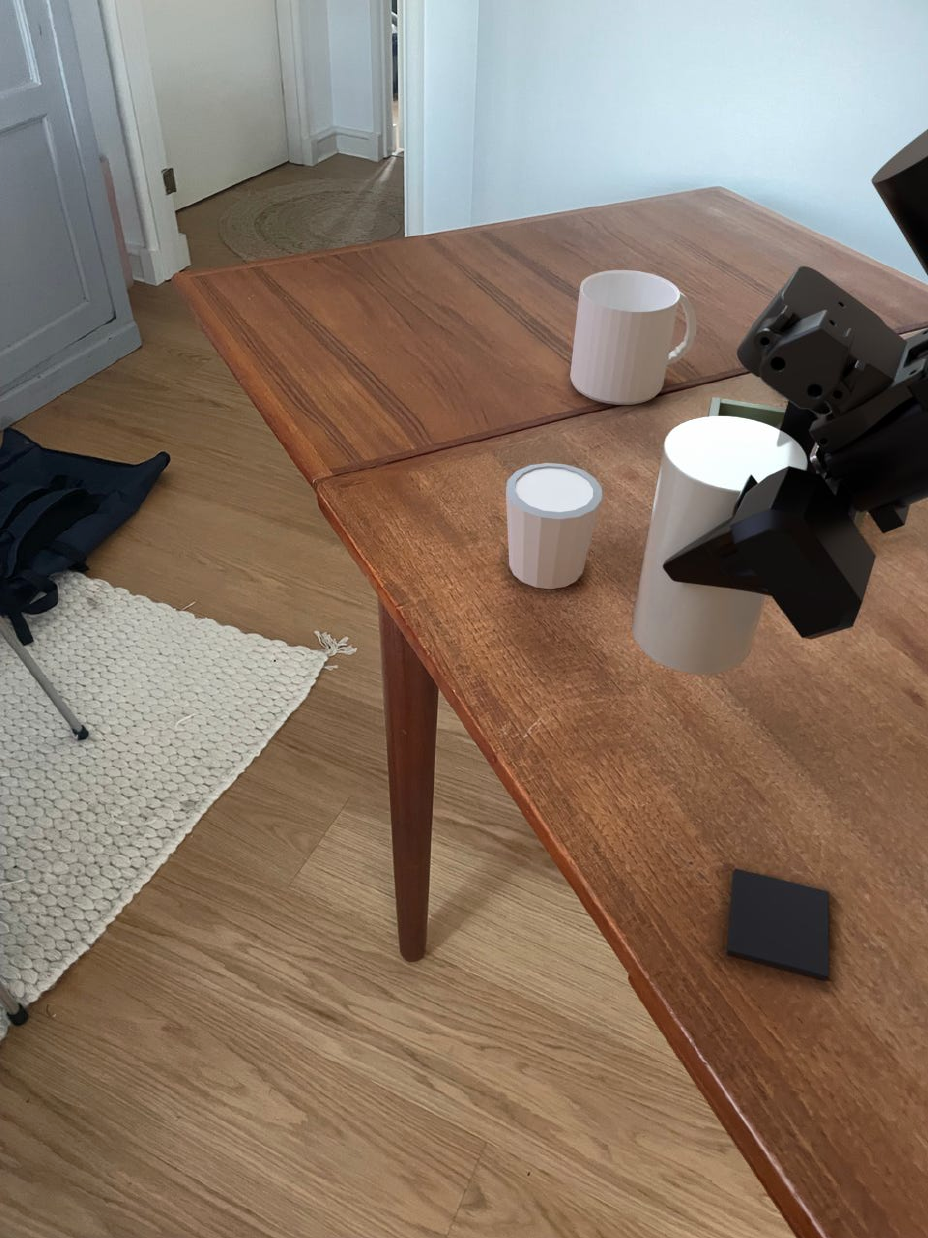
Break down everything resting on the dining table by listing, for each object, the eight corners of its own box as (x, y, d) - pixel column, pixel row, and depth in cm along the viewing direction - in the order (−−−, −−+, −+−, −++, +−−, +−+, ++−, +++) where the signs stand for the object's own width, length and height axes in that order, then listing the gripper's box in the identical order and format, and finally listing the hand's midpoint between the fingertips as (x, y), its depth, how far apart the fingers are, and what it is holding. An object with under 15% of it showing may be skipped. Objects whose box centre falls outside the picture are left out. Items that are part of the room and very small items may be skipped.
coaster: (826, 896, 51) (828, 891, 50) (826, 981, 47) (829, 976, 47) (732, 872, 52) (734, 867, 51) (726, 954, 48) (728, 950, 48)
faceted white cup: (562, 527, 74) (571, 452, 69) (609, 579, 70) (621, 502, 65) (485, 550, 72) (488, 474, 67) (528, 605, 67) (535, 527, 63)
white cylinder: (697, 579, 56) (738, 402, 48) (778, 647, 52) (839, 465, 44) (607, 618, 54) (635, 437, 46) (685, 692, 50) (731, 508, 41)
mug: (579, 407, 88) (591, 313, 81) (562, 361, 94) (571, 270, 88) (703, 403, 89) (724, 309, 82) (677, 358, 95) (695, 268, 89)
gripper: (929, 158, 42) (657, 336, 53) (856, 319, 30) (522, 507, 41) (1045, 359, 45) (763, 488, 56) (1022, 582, 33) (667, 691, 44)
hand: (689, 533), depth 49 cm, fingers closed on white cylinder, 7 cm apart
